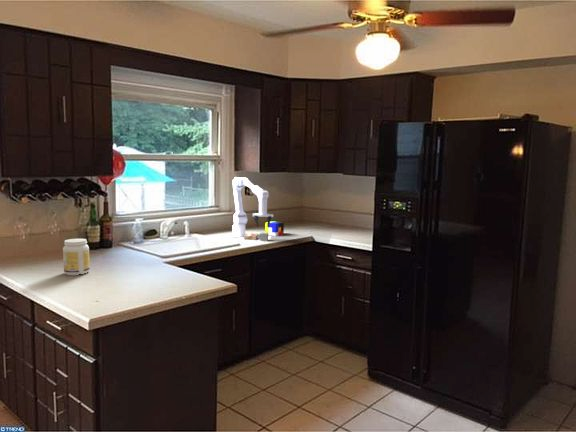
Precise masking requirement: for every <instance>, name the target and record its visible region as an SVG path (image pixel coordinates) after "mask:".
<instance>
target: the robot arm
mask: <svg viewBox="0 0 576 432" xmlns="http://www.w3.org/2000/svg"><path fill="white" fill-rule="evenodd" d="M245 187H246V188H247V187H248V188H249V189H250V190H251V193H253V194H255V196H256V197H257V199H258V213H252V217H253V219H254V221H255V224H256V227H257V228H259V217H263V218H264V217H265V218H267V222H268V224H267V227H269V224H270V222H271V221H272V218H273V217H274V214H273V213H268V198H269V196H270V193H269V191H268V190H264V189H263V188H261V187H260V186H259V185H254V183H252V182H251V181H250V180H249V178H247V177H246V176H244V177H237V176H235V177H234V178H233V179H232V189H233V198H234V206H235V213H234V214H233V220H232V221H233V225H232V226H231V227H232V228H231V230H232V231H231V234H232V235H231V237H232V238H241V237H244V236H245V235H246V224H247V223H248V221H249V220H248V216H247V212H245V211H244V205H243V198H242V189H243V188H245Z"/></svg>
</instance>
